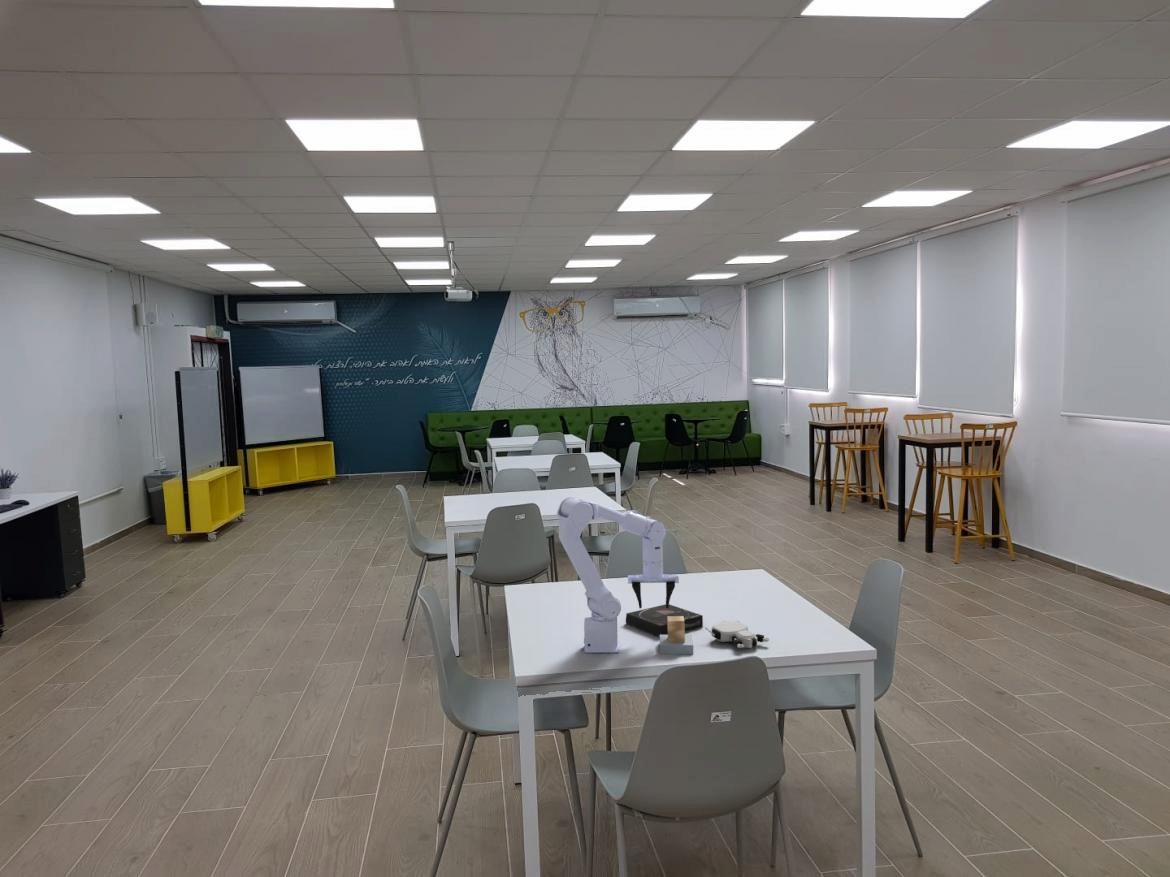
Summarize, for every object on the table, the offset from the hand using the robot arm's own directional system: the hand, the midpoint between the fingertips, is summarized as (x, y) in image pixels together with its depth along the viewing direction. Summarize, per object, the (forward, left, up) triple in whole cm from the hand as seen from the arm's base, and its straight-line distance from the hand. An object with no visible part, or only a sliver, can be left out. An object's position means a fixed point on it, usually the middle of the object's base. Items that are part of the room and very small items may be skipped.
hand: (653, 607), depth 234 cm
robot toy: (+23, -4, -10) cm, 26 cm away
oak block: (+6, -8, -7) cm, 12 cm away
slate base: (+6, -8, -10) cm, 14 cm away
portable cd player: (+3, +13, -10) cm, 17 cm away
